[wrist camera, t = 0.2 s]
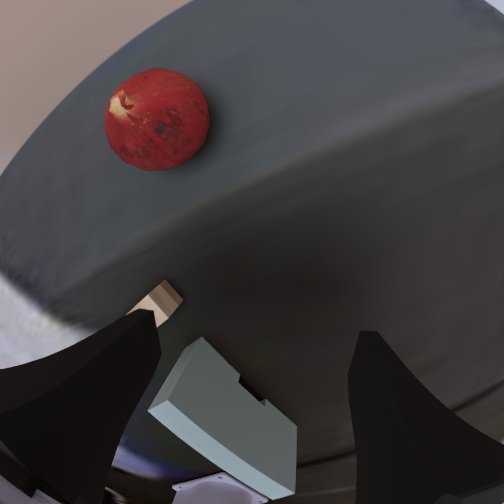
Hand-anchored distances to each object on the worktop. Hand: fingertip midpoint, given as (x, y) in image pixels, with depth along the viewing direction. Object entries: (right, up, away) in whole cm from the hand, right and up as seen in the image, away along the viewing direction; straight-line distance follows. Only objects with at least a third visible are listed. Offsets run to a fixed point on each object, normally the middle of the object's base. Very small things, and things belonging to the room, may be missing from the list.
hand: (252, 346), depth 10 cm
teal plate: (-1, -8, +13) cm, 15 cm away
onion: (-5, +11, +9) cm, 15 cm away
